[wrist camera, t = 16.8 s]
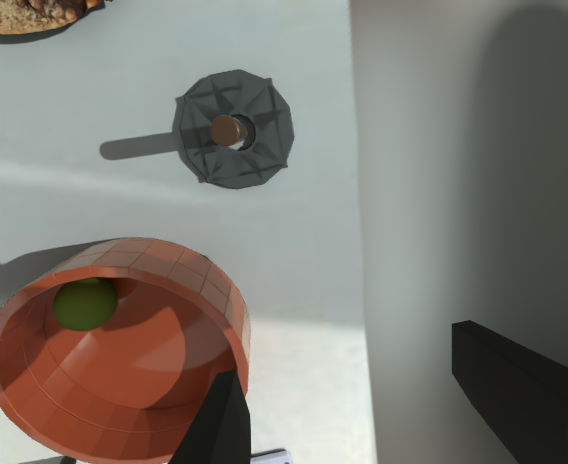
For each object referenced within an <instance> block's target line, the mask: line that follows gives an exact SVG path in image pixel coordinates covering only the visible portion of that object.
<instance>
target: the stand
mask: <svg viewBox="0 0 568 464" xmlns="http://www.w3.org/2000/svg"><path fill="white" fill-rule="evenodd" d="M60 464H76V459H74V458H71V457H68V456H65V457H64V458H63V459H62V461H61V462H60Z"/></svg>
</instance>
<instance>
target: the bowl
mask: <svg viewBox="0 0 568 464" xmlns="http://www.w3.org/2000/svg"><path fill="white" fill-rule="evenodd" d="M90 277H102V278H104V279H106V280H108V281H109V282H110V283H111V284H112V285H113V286H114V287H115V289H116V291H117V294H118V306H117V309H116V311H115V313H114V315H113V316H112V317H111V319H110V320H109V321H108V322H106V323H105V324H104V325H102V326H101V327H99V328H96V329H94V330H90V331H83V332H79V331H72V330H69V329H67V328H65V327H63V326H62V325H61V324H59V323H58V321H57V320H56V318H55V317H54V314H53V309H52V307H53V300H54V297H55V295H56V293H57V292H58V290H59V289H60V288H61V287H62V286H63V285H64V284H65V283H67V282H70V281H75V280H80V279H85V278H90ZM250 330H251V329H250V321H249V315H248V311H247V308H246V305H245V302H244V300H243V298H242V296H241V294H240V292H239V290H238V289H237V288H236V286H235V285H234V283H233V282H232V281H231V279H230V278H229V277H228V276H227V275H226V274H225V273H224V272H223V271H222V270H221V269H220V268H219V267H217V266H216V265H215V264H214V263H213V262H211V261H210V260H208V259H207V258H205V257H203V256H202V255H200V254H199V253H196V252H194V251H192V250H190V249H188V248H186V247H183V246H180V245H177V244H175V243H172V242H167V241H163V240H158V239H149V238H122V239H115V240H110V241H106V242H102V243H98V244H96V245H93V246H91V247H88V248H86V249H84V250H82V251H80V252H79V253H77V254H75V255H73V256H71V257H69V258H67V259H66V260H64V261H63V262H61V263H60V264H58V265H57V266H55V267H54V268H52V269H50V270H49V271H47V272H46V273H44V274H43V275H41V276H40V277H38V278H37V279H35V280H34V281H32V282H30V283H29V284H27V285H26V286H24V287H23V288H21V289H20V290H19V291H18V292H17V293H16V294H15V295H14V296H13V297H12V298H11V299H10V300H9V301H8V302H7V303H6V304H5V305H4V306H3V307H1V308H0V407H1V409H2V410H3V412H4V413H5V415H6V416H7V417H8V418H9V419H10V420H11V421H12V422H13V423H14V424H15V425H17V426H18V427H19V428H20V429H21V430H22V431H23V432H24V433H26V434H27V435H28V436H29V437H31V438H32V439H33V440H35V441H37V442H39V443H41V444H42V445H44V446H46V447H48V448H49V449H51V450H53V451H55V452H58V453H59V454H62V455H65V456H68V457H71V458H74V459H77V460H80V461H83V462H88V463H91V464H163V463H167V462H169V461H170V459H171V457H172V456H173V454H174V452H175V451H176V449H177V447H178V446H179V444H180V442H181V441H182V439H183V437H184V435H185V433H186V432H187V430H188V428H189V426H190V424H191V423H192V421H193V419H194V417H195V415H196V413H197V412H198V410H199V408H200V406H201V404H202V402H203V400H204V398H205V396H206V394H207V392H208V390H209V388H210V386H211V384H212V382H213V380H214V378H215V376H216V375H217V373H220V372H225V371H230V370H235V369H236V370H237V374H238V377H239V380H240V384H241V387H242V390H243V393H244V397H246V394H247V391H248V372H249V351H250Z"/></svg>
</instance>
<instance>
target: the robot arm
mask: <svg viewBox="0 0 568 464" xmlns="http://www.w3.org/2000/svg"><path fill="white" fill-rule="evenodd" d="M452 374H453V375H454V377H455V378H456V380H457V382H458V383H459V385H460V386H461V388H462V390H463V391H464V393H465V394H466V396H467V397H468V399H469V401H470V402H471V404H472V405H473V406H474V408H475V409H476V410H477V412H478V413H479V414H480V415H481V417H482V418H483V419H484V420H485V422H486V423H487V424H488V425H489V427H490V428H491V429H492V431H493V432H494V433H495V434H496V436H497V437H498V438H499V439H500V440H501V442H502V443H503V444H504V446H505V447H506V448H507V449H508V451H509V452H510V453H511V454H512V456H513V457H514V458H515V459H516V461H517V462H518V463H519V464H568V367H566V366H563V365H561V364H559V363H557V362H555V361H553V360H551V359H549V358H547V357H545V356H542V355H541V354H538V353H536V352H534V351H532V350H530V349H528V348H526V347H524V346H522V345H520V344H518V343H516V342H514V341H512V340H510V339H508V338H506V337H504V336H502V335H500V334H498V333H496V332H494V331H492V330H490V329H488V328H486V327H484V326H482V325H479V324H477V323H475V322H473V321H471V320H468V321H463V322H459V323H454V324H452ZM168 464H293V462H292V458H291V454H290V453H289V452H288V451H282V452H277V453H273V454H268V455H263V456H259V457H254V458H251V425H250V413H249V410H248V407H247V403H246V400H245V397H244V393H243V390H242V387H241V384H240V380H239V377H238V374H237V370H236V369H235V370H230V371H225V372H220V373H217V375H216V376H215V378H214V380H213V382H212V384H211V386H210V388H209V390H208V392H207V394H206V396H205V398H204V400H203V402H202V404H201V406H200V408H199V410H198V412H197V413H196V415H195V417H194V419H193V421H192V423H191V424H190V426H189V428H188V430H187V432H186V433H185V435H184V437H183V439H182V441H181V442H180V444H179V446H178V447H177V449H176V451H175V452H174V454H173V456H172V457H171V459H170V461H169V462H168Z"/></svg>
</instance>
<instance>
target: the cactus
mask: <svg viewBox="0 0 568 464" xmlns="http://www.w3.org/2000/svg"><path fill="white" fill-rule="evenodd" d="M106 1H110V2H112V1H113V0H106ZM101 2H102V0H0V34H1V35H2V34H24V33H35V32H39V31H46V30H49V29H56V28H59V27H62V26H64V25H66V24H68V23H72V22H74V21H75V20H77V19H78V18H79V17H80V16H82V15H83V14H85V13H86V11H87V10H88V9H89V8H91V7H92V6H97V5H99V4H100V3H101Z"/></svg>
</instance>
